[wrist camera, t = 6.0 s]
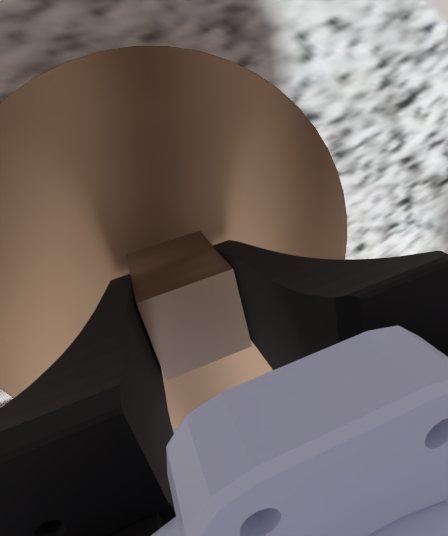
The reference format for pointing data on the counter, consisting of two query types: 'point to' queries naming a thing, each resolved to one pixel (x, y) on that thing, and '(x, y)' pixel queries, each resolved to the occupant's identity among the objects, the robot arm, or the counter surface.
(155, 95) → the lid
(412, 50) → the counter surface
